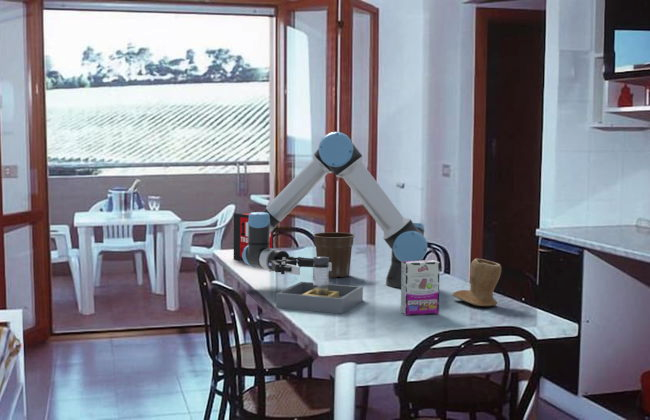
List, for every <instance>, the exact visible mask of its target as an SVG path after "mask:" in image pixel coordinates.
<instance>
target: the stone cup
mask: <svg viewBox="0 0 650 420" xmlns="http://www.w3.org/2000/svg"><path fill="white" fill-rule="evenodd" d="M501 275H502V265H501V264H500V263H498V262H495V261H491V260H487V259H483V258H474V259H473V260H472V261H471V263H470V269H469V281H470V290H469V289H467V290H466V289H463V290H462V289H460V290H457V291H454V292H453V293H452V297H454V298H456V299H459V300H460V301H463V302H465V303H468V304H470V305H473V306H477V307H493V306H497V304H498V302H497V300H496V299H495V298H494V291H495V288H496V286H497V284H498V282H499V280H500V277H501Z"/></svg>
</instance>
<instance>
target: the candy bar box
mask: <svg viewBox="0 0 650 420" xmlns="http://www.w3.org/2000/svg"><path fill="white" fill-rule="evenodd" d="M440 263H441V262H440V261H438V260H435V259H431V260H430V259H429V260H427V259H426V260H424V259H423V260H422V261H402V263H401V288H400V292H401V293H400V313H401V314H403V315H405V316H423V315H424V316H427V315H439V313H440Z"/></svg>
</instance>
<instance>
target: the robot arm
mask: <svg viewBox="0 0 650 420" xmlns="http://www.w3.org/2000/svg"><path fill="white" fill-rule="evenodd" d="M363 157H364V156H363V155H362V154H361V152H360V151H359V149H358V148H357V146H356V145H355V144H354V143H353V140H352V139H351V138H350V136H348V135H347V134H346V133H345V132H341V131H331V132H329V133H326V135H325V136H324V137H322V138H321V140H320V142H319V144H318V148H317V150H316V151H315V152H314V153H313V154H312V159H311V160H310V161H309V162H308V163H307V164H306V165H305V166H304V167H303V168H302V169H301V171H299V173H297V174H296V176H295V177H294V178H293V179H292V180H291V181H290V182H289V183H288V184H287V185H286V186H285V187H284V188H283V189H282V190H281V191H280V192H279V193H278V194H277V196H275V198H274V199H273V200H272V201H271V202H270V203H268V205H267V206H266V207H264V209H263V210H262V211H256V212H255V211H252V212H253V213H250V214H249V221H248V246H246V247H245V248H244V251H243V253H242V258H243V260H244V261H243V262H244V263H245V264H247V265H248V266H251V267H253V268H259V269H265V270H268V272H270V273H271V272H275V273H280V275H285V273H288V274H292V275H296V276H301V275H300V274H301V268H302V267H303V268H313V260H314V257H312V258H311V257H302V256H301V257H300V256H298V257H294V256H291V255H289V253H288V252H287V251H285V250H281V249H276V248H274V249H272V248H269V237H270V233H271V232H272V231H273V229H274V230H275V228H276V227H277V226H278V225H279V224H280V223H281V222H282V221H283V220H284V219H285V218H286V217H287V215H289V214H290V213H291V212H292V211H293V209H294V208H295V207H297V206H298V204H300V203H301V201H302V200H303V199H304V198H306V196H307V195H308V194H309V193H310V192H311V191H312V190H313V189H314V188H315V187H316V186H317V185H318V184H319V183H320V182H321V181H322V180H323V179H324V178H325V177H326V176H327V175H328V174H332V173H333V174H334V176H335V177H336V178H341V179H343V180H344V181H345V183H346V185H348V187H349V188H350V189H351V190H352V193H353V194H354V195H355V197H357V199H358V200H359V201H360V202H361V204H362V206H363V207H364V208H365V209H366V211H367V212H368V213H369V214H370V216H371V217H372V219H373V220H374V221H375V223H376V224H378V226H379V227H380V229H381V231H382V232H383V240H384V241H385V243H386V244H387V246H388V247H389V248H390V249H391V264H390V267H389V268H388V272H387V275H386V278H385V283H386V284H385V285H387V286H388V287H393V288H397V289H398V288H399V289H401V263H402V261H422V260H424V257H425V256H426V254H427V250H428V241H427V239H426V237H425V236H424V235H425V227H424V226H425V225H424V224H423V223H421V222H413V221H412V219H411V218H407V217H404V216H403V214H401V212H400V210H399V209H398V208H397V207H396V205H395V204H394V203H393V201H392V200H391V199H390V198H389V196H388V195H387V194H386V192H385V191H384V189H383V188H382V187H381V186H380V184H379V183H378V182H377V180H376V178H374V176H373V175H372V174H371V172H370V171H369V170H368V169H367V166H365V164H364V163H363ZM329 271H332V263H331V262H329Z"/></svg>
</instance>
